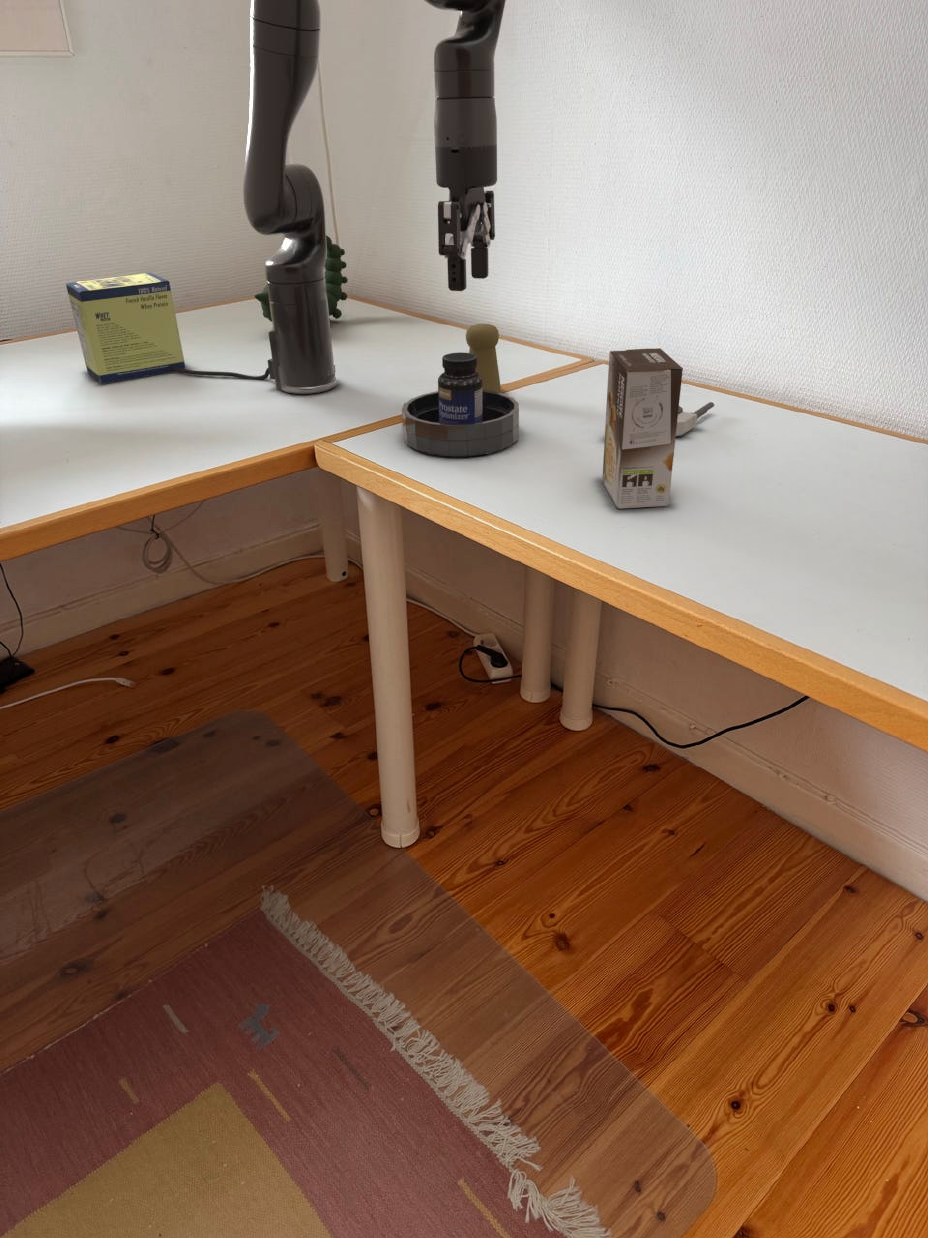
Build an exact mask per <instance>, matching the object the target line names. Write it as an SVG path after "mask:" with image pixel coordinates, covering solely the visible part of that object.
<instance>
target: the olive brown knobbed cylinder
mask: <svg viewBox="0 0 928 1238" xmlns="http://www.w3.org/2000/svg"><path fill="white" fill-rule="evenodd" d="M499 337H500V333H499V330H498V328H497V327H496V326H495V325H493V324H490V323H476V324H472V325H470V326H468V328H467V330H466V333H465V341H466V344H467V346H468V347H469V348H468V353H471V354H474V355H476V356H477V366H476V368H475V372H477V373H479V374H480V376H481V377H482V390H488V391H493V392H498V393H502V386H501V378H500V371H499V370H500V369H499V364H498V363H499V362H498V355H497V349H496V346H497V345H498V343H499V339H500V338H499Z"/></svg>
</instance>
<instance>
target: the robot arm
mask: <svg viewBox="0 0 928 1238" xmlns="http://www.w3.org/2000/svg"><path fill="white" fill-rule="evenodd" d="M423 1H424V2H426V4H428V5H430V6H432V7H434V8H435V9H438V10H442V11H452V12H453V11H454V12H455V11H456V12H459V15H458V21H457V25H456V29H455V33H454V34H453V35H452V36H449V37H446V38H444V39H442V40H440V41H439V42H438V43H437V44H436V45H435V48H434V53H433V72H434V98H435V100H434V101H435V102H434V115H433V130H434V132H433V133H434V134H433V135H434V154H435V155H434V156H435V157H434V158H435V181H436V182H435V183H436V184H437V186H438V187H440V188H443V189H446V188H447V189H448V200H444V201H442V200H440V201H438V203H437V237H438V241H437V243H438V255H439V256H444V258H445V259H446V260H447V261H446V262H447V287H448V289H449V291H450V292H463V291H465V290H466V289H467V259H466V256H467V251H468V247H469V244H470V275H471V277H472V278H473V279H479V280H480V279H481V280H484V279H486V278H488V277H489V248H490V247H491V244H492V242H491V241H494V240H495V238H496V225H495V224H496V223H495V221H496V220H495V193H494V190H485V188H489V187H492V186H495V185H496V184H497V182H498V118H497V111H496V99H495V54H496V49H497V45H498V41H499V36H500V32H501V27H502V21H503V17H504V11H505V7H506V2H507V0H423ZM249 15H250V17H249V19H250V20H249V21H250V22H249V23H250V24H249V25H250V26H249V27H250V30H249V33H250V34H249V35H250V36H249V49H250V50H249V51H250V82H249V84H250V87H249V114H248V115H249V116H248V128H247V129H248V130H247V139H246V150H245V159H244V170H243V180H242V181H243V182H242V197H243V198H242V199H243V205H244V211H245V215H246V217H247V221H248V223H249V225H250V226H251V227H252V228H253V230H254V231H255V232H257V233H258V234H260V235H263V236H278V235H283V241H282V243H281V246H280V247H279V248H278V249H277V251H276V252H275V253H274V254H272V256H270V257H269V258H268V259H267V260H266V261H265V263H264V275H265V280H266V285H267V289H268V296H269V303H270V310H271V317H272V322H271V324H272V328H271V329H270V330H269V331H268V339H269V340H268V341H269V348H270V354H271V358H270V359H268V360H266V361H267V366H268V367H267V368H266V369H265V372H264V374H262V375H259V376H256V375H255V376H254V375H253V376H252V375H248V374H243V373H238V372H231V371H213V370H212V371H211V370H210V371H208V370H193V369H187V368H186V369H181V368H176V367H172V368H171V370H172V371H175V372H176V373H180V374H186V375H194V376H207V377H208V376H210V377H211V376H214V377H233V378H237V379H242V380H254V381H263V380H265V379H267V378H269V379H270V380H274V382H275V383H274V384H275V388H276V390H282V391H283V392H285V393H289V394H294V395H295V394H296V395H310V394H318V393H323V392H326V391H329V390H331V389H333V388H335V387H336V386H337V383H338V382H337V377H336V364H335V360H334V351H333V342H332V341H333V340H332V333H331V332H332V330H331V324H330V321H329V318H330V316H329V311H328V302H327V293H326V283H325V274H324V272H325V267H324V266H325V261H326V258H327V245H326V235H327V230H326V228H327V227H326V212H325V203H324V202H325V200H324V194H323V191H322V187H321V184H320V181H319V179H318V177H317V175H316V173H315V172H314V171H313V170H312V169H311V168H310V167H309V166H307V165H305V164H300V163H291V164H290V163H289V164H287V155H288V146H289V141H290V140H289V139H290V136H291V132H292V130H293V126H294V124H295V121H296V120H297V118H298V115H299V113H300V111H301V110H302V107H303V106H304V103H305V102H306V100H307V97H308V95H309V93H310V91H311V89H312V86H313V84H314V82H315V79H316V76H317V73H318V69H319V61H320V47H321V46H320V45H321V28H322V27H321V26H322V14H321V7H320V3H319V0H250V14H249ZM175 372H174V373H175Z"/></svg>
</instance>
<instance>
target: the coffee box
mask: <svg viewBox="0 0 928 1238" xmlns="http://www.w3.org/2000/svg"><path fill="white" fill-rule="evenodd" d="M608 354H609V355H608V372H607V388H606V389H607V390H606V409H605V427H604V428H605V429H604V443H603V444H604V445H603V459H602V460H603V463H602V478H601V481H602V484H603V485H604V488H605V489H606V491H607V492H608V494H609V496H610V498H611V500H612V501H613V503H614V505H615V507H616V508H617V509H621V510H622V509H633V508H634V509H636V508H637V509H638V508H650V507H652V508H654V507H667V506H668V505H669V502H670V501H669V500H670V493H671V487H672V486H671V485H672V476H673V475H672V474H673V465H674V456H675V448H676V447H675V446H676V438H677V436H676V429H677V419H678V410H679V406H680V399H681V390H682V381H683V380H682V379H683V372H684V371H683V370H684V368H683V367H682V366H681V365H680V364H679V363H678V362H677V361H676V360H674V359H673V358H672V357H671V356H669V354H667V353H666V351H664V350H663V349H662V348H660V347H659V348H635V349H634V348H633V349H625V350H610V351H609V353H608Z"/></svg>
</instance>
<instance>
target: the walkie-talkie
mask: <svg viewBox="0 0 928 1238" xmlns="http://www.w3.org/2000/svg"><path fill="white" fill-rule="evenodd" d="M714 407H715V403H714V402H712V401H709V402H707V403H706V404H705V405H703V406H702V407H700V408H698V409H697V410H695V411H693V412H687V411H684V408H683V407H682V406H680V405H679V410H678V419H677V429H676V437H678V436H683V435H685V434H686V433H687V432H689V431H690V430H693V429H695V428H696V426H697V420H698V419H699V418H701V417H702V416H703V415H705V414H707V412H708V411H709V410H711V409H712V408H714Z"/></svg>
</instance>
